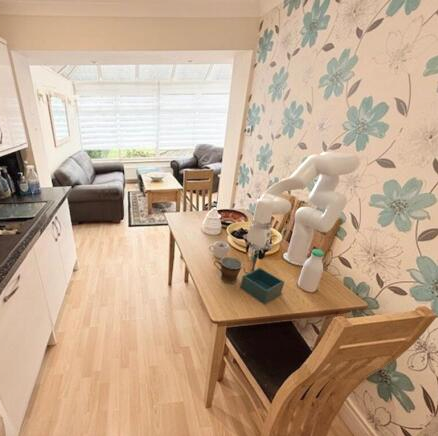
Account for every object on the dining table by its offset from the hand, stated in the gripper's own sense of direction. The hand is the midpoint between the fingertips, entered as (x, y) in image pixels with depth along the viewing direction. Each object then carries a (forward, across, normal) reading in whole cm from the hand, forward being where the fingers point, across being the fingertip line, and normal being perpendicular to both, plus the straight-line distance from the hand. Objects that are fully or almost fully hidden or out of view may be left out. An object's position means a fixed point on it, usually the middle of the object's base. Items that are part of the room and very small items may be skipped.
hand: (254, 254), depth 122 cm
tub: (+10, -12, +9) cm, 18 cm away
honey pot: (+10, +46, -17) cm, 50 cm away
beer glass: (+10, 0, 0) cm, 10 cm away
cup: (+10, +20, +4) cm, 23 cm away
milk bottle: (+10, -22, -12) cm, 27 cm away
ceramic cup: (+10, +3, +16) cm, 19 cm away
